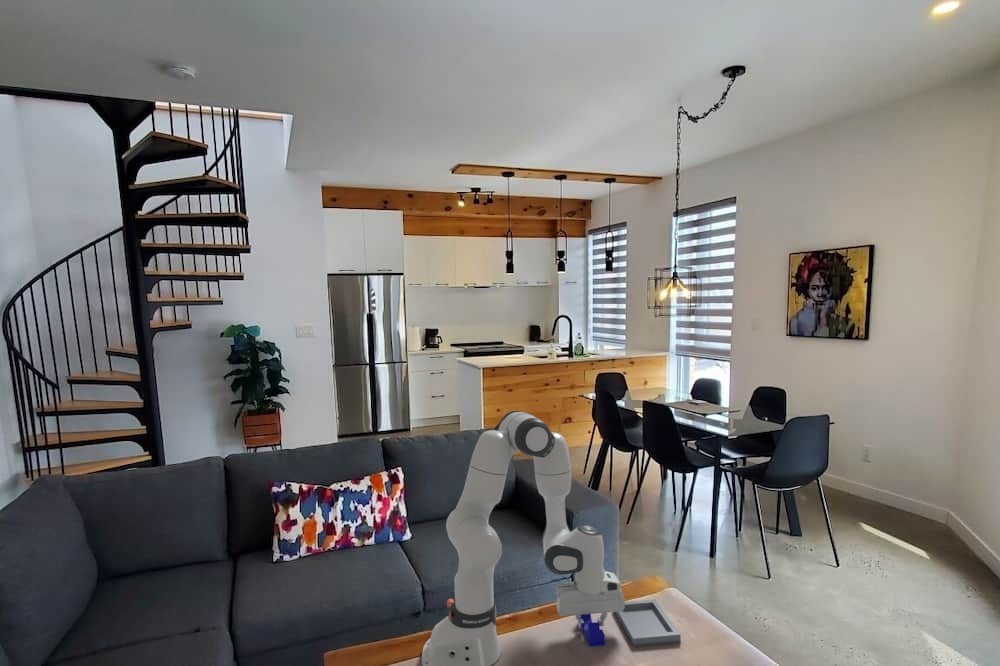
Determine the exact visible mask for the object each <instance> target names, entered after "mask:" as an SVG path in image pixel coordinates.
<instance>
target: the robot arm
mask: <svg viewBox="0 0 1000 666" xmlns="http://www.w3.org/2000/svg"><path fill="white" fill-rule="evenodd" d="M516 452H519V453H522V454H523V455H525V456H529V457H532V459H533V465H534V466H533V467H534V468H533V469H534V478H535V483H536V487H537V490H538V494H539V495H540V496H541V497H543V500H544V504H545V506H544V507H545V517H546V525H545V528H544V531H543V534H542V538H541V540H542V541H541V543H542V547H543V561H544V563H545V566H546V568H547V569H548V570H549V572H551V573H553V574H555V575H559V576H563V575H571V574H572V575H573V574H574V581H571V582H561V583H560V584H558V585H557V586H556V587H555V595H556V597H557V599H556V609H557V613H558V615H560V616H561V617H567V616H568V617H570V616H575V619H576V620H577V623H578V625H577V626H578V628H579V629H582V628H584V621H583V619H580V617H581V616H580V615H584V614H591V615H593V614H600V616H599V617H597V622H598V623H599V628H600V627H604V626H605V624H604V623H605V620H606V619H607V616H608V614H609V613H615V612H621V611H623V610H624V608H625V603H624V602H625V597H624V593H623V591H622V584H621V582H620V580H619V579H618V577H617V576H616V574H615V573H613V572H610V571H608V570H605V568H604V560H605V549H604V541H603V536H602V534H601V532H600V531H599V530H598V529H597V528H596V527H594V526H592V525H589V524H579V525H577V526H576V528H574V529H573V530H571V529H570V527H569V525H568V523H567V516H566V514H567V513H566V502H565V501H566V497H567V496H568V495H569V494H570V492H571V488H572V465H571V458H570V451H569V447H568V444H567V440H566V439H565V437H564V436H563V435H562V434H560V433H558V432H556V431H555V432H553V431H551V430H550V427H548V425H547V423H545V421H543V420H542V419H540V418H537V417H536V416H535V415H532V414H530V413H527V412H524V411H521V410H513V411H509V412H508V413H506V414H505V415H503V416H502V418H501V419H500V421H499V423H497V425H496V426H495V427H494V429H490V430H486V431H484V432H483V433H481V435H480V436H479V437H478V440H477V442H476V445H475V447H474V449H473V451H472V455H471V459H470V463H469V465H468V466H469V467H468V471H467V475H466V478H465V484H464V487H463V490H462V493H461V495H460V498H459V499H458V502H457V504H456V507H454V510H452V511H451V512H450V513H449V515H448V517H447V519H446V524H445V526H446V527H445V529H446V532H447V536H448V539H449V540H450V542H451V543H452V544H453V546H454V548H455V549H456V551H457V555H458V568H457V572H456V574H455V575H454V579H453V581H454V599H453V598H448V599H447V600H446V603H447V604H446V607H447V609H448V610H447V611H448V615H447V616H446V617H444V618H443V619H442V620H440V621H439V622H437V624H436V625H435V626H434V627H433V629H432V632H431V635H430V638H429V639H428V640H427V641H426V642H425V644H424V645H423V648H422V652H421V666H492V665H494V664H496V662H497V661H498V660H499V658H500V657H501V654H502V648H501V644H500V642H499V641H500V640H499V638H498V634H497V627H496V623H497V607H496V600H495V597H494V575H495V573H494V572H495V569H496V568H495V567H496V565H497V564H498V562H499V561H500V559H501V557H502V552H503V547H502V546H503V545H502V543H501V540H500V538H499V536H498V533H497V532H496V530H495V529H494V528H493V527H492V526H491V525H490V524H489V518H490V516H491V513H492V511H493V509H494V508H495V506H496V505H498V504H499V503H500V502H501V500H502V496H503V492H504V489H505V483H506V479H507V476H508V475H507V474H508V470H509V467H510V466H509V465H510V462H511V460H512V457H513V456H514V455H515V454H516Z"/></svg>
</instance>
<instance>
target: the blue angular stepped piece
mask: <svg viewBox="0 0 1000 666" xmlns="http://www.w3.org/2000/svg"><path fill="white" fill-rule="evenodd" d="M580 616H581V617H580V619H583V621H584V628H583V629H582V631H583V630H584V631H583V633H585V634H584V636H585V635H586V636H585V638H587V639H586V641H587V643H588V645H589V647H599V646H606V641H605V640H606V638H605V637H606V635H605V632H604V631H603V629H600V627H599V623H598V621H597V622H596V621H595V622H593V619H592V614H584V615H580Z"/></svg>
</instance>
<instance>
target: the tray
mask: <svg viewBox="0 0 1000 666" xmlns="http://www.w3.org/2000/svg"><path fill="white" fill-rule="evenodd" d="M624 603H625V608H624V610H623V611H621V612H614V614H615V613H616V614H617V616H618V617H617V616H616V617H617V619H618V618H619V619H618V621H619V620H620V621H619V623H620V622H621V623H620V625H621V624H622V625H621V626H623V627H622V629H623V628H624V629H623V630H624V632H625V634H626V636H627V638H628V640H629V642H630V643H631V645H632V647H633V648H640V647H649V646H659V645H660V646H661V645H663V646H664V645H673V644H681V643H682V642H681V637H682V636H681V633H680V631H679V630H678V629H677V628H676V626H675V625H674V623H673V622H672V620H671V619H670V618H669V616H668V615H667V613H666V612H665V611H664V609H663V608H662V606H661V605H660V604H659V602H658V601H657V600H656V599H645V600H642V599H641V600H634V601H633V600H632V601H624ZM616 614H615V615H616Z"/></svg>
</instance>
